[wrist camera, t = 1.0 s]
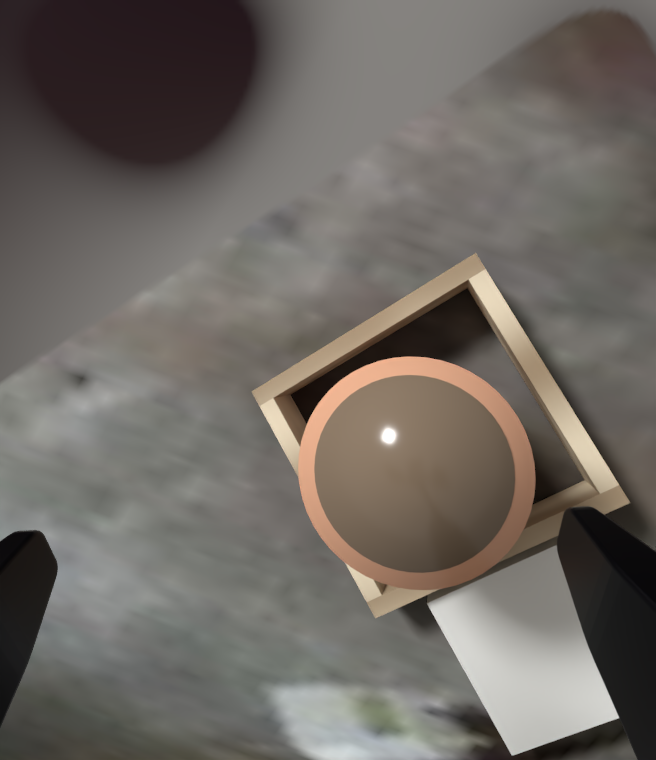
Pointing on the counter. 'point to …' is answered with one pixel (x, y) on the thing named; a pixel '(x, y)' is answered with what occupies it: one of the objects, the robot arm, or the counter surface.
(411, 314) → the beige square frame
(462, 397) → the terracotta pot
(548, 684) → the stone tile
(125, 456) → the counter surface
